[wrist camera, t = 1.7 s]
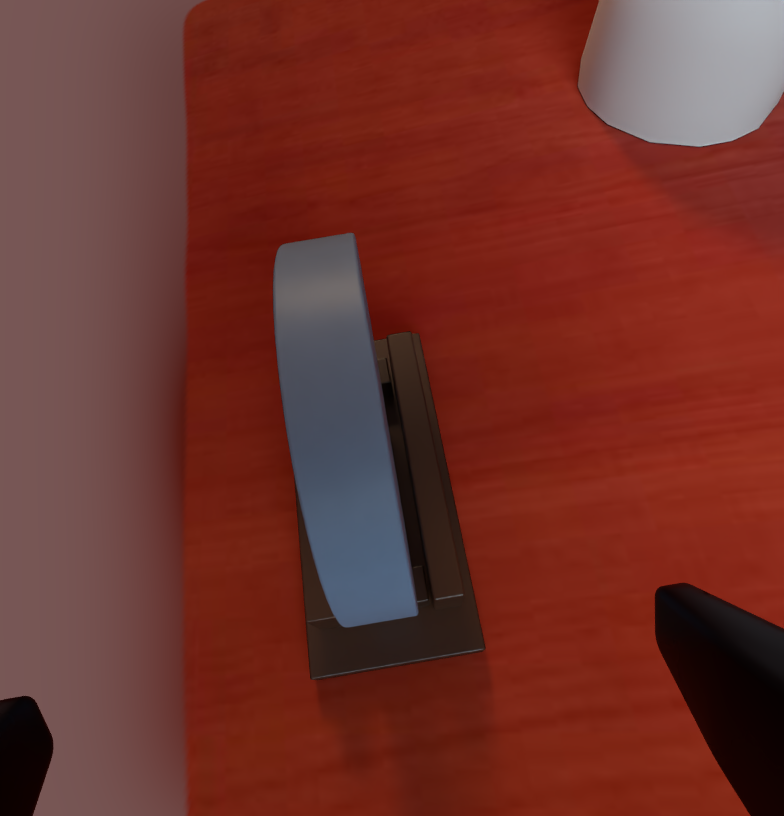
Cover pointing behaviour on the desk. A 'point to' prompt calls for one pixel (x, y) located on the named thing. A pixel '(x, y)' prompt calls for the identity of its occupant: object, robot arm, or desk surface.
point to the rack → (426, 534)
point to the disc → (340, 432)
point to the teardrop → (684, 67)
